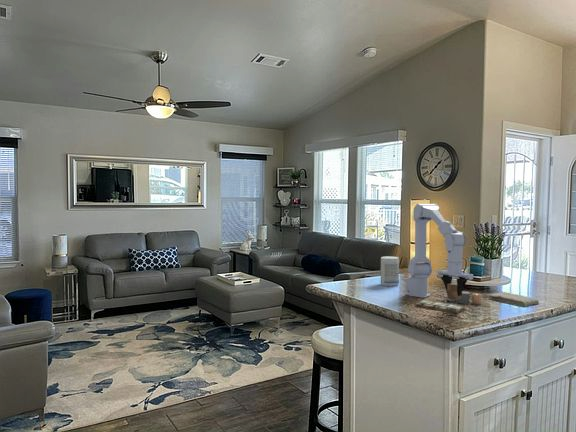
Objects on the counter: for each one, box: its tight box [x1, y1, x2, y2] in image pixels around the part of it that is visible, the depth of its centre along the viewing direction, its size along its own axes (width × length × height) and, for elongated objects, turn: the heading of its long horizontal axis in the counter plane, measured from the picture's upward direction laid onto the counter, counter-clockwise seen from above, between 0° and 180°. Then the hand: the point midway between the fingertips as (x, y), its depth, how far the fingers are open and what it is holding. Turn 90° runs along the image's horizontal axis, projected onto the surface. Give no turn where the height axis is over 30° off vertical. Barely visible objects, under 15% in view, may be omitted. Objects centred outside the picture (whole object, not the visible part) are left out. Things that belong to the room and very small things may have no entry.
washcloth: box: [488, 291, 540, 307], centre depth 194 cm, size 12×18×3 cm, turn 31°
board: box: [414, 299, 466, 314], centre depth 181 cm, size 18×8×1 cm, turn 49°
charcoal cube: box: [457, 290, 471, 305], centre depth 191 cm, size 4×4×4 cm
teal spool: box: [446, 297, 458, 302], centre depth 195 cm, size 5×5×5 cm
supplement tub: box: [380, 255, 400, 287], centre depth 229 cm, size 10×10×15 cm
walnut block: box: [446, 282, 461, 300], centre depth 177 cm, size 4×4×6 cm
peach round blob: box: [470, 292, 482, 305], centre depth 189 cm, size 4×4×4 cm
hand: (454, 294), depth 177 cm, fingers closed on walnut block, 4 cm apart
